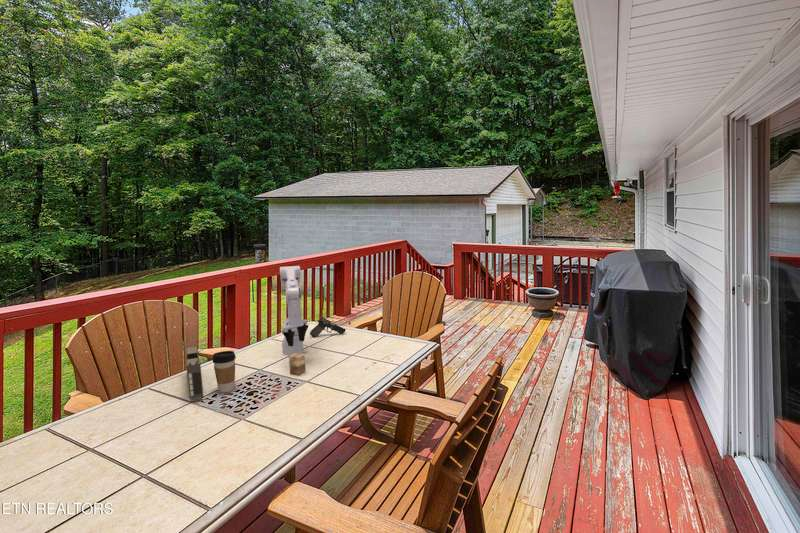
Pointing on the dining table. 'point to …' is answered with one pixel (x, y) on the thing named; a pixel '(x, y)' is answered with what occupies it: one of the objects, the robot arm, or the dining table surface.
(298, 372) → the walnut block
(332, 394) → the dining table surface
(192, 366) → the graphics card
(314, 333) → the handgun
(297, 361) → the maple block
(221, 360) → the coffee cup
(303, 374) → the board
